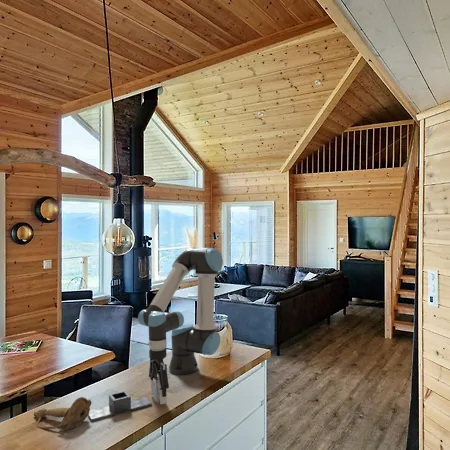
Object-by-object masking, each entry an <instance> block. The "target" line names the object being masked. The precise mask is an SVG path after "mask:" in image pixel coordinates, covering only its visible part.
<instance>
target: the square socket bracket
mask: <svg viewBox="0 0 450 450" xmlns="http://www.w3.org/2000/svg"><path fill="white" fill-rule="evenodd" d="M152 406H153V404H152V402H151V401H150V400H149V399H148V398H147V396H142V397H139V398H136V399H135V398H134V399H132V396H131V395H130V394H129V392H127V390H121V391H118V392H117V391H116V392H113V393H110V394H108V405H107V406H103V407H99V408H98V407H97V408H95V409H90V411H89V414H88V416H87V417H88V418H89V420H90V422H92V423H93V422H95V421H99V420H103V419H107V418H110V417H114V416H116V415H120V414H124V413H128V412H133V411H137V410H141V409H145V408H149V407H152Z"/></svg>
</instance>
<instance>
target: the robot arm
mask: <svg viewBox="0 0 450 450" xmlns="http://www.w3.org/2000/svg"><path fill="white" fill-rule="evenodd" d="M223 260H224V259H223V256H222V253H221V252H220V250H218V249H217V248H215V247H214V248H213V247H190V248H188V249H185V250H184V251H183V252H181V253H180V254H179V256H177V257H176V259H175V260H174V262H173V264H172V265H171V267H172V268H171V270H170V272H169V274H167V276H166V278H165V279H164V281H163V284H162V285H161V286H160V287H159V289H158V291H157V293H156V295H155V296H154V297H153V299H152V301H151V303H150V304H149V306H148V308H147V309H142V310H141V311H140V312H139V313H138V316H137V321H138V323H139V325H141V326H144V327H148V342H147V344H148V349H149V350H148V357H149V373H148V377H149V379H150V393H151V394H150V395H151V396H153V378H154V377H158V376H159V381H160V386H161V388H160V402H159V404H160V405H165V404H167V403H168V400H167V399H168V397H167V394H168V393H167V389H169V388H170V386H169V378H168V377H169V376H168V371H169V372H170V373H171V374H174V375H189V374H193V373H195V372H197V371H198V369H199V367H198V362H197V359H196V356H195V354H199V355H204V356H212V355H214V354H215V353H216V352H217V351H218V349H219V347H220V343H221V335H220V334H219V332H218V331H217V327H216V326H215V324H214V311H215V307H214V306H215V283H216V282H215V278H216V277H217V276H218V275H219V271H221V270H222V267H223V264H224V263H223V262H224V261H223ZM191 271H194V273H195V275H196V276H197V278H198V279H197V297H196V298H197V300H196V301H197V302H196V303H197V305H196V306H197V307H196V324H194V325H193V324H184V323H185V318H184V315H183V313H181V312H180V311H173V312H166V309H167V307H168V305H169V304H170V302H171V301H172V299H173V297H174V295H175V294H176V292H177V290H178V288H179V286H180V285H181V283H182V281H183V280H184V279H185V277H186V276H187V275H189V274H190V272H191ZM168 332H171V358H170V362H169V365H167V363H166V364H165V362H164V359H165V358H167V333H168ZM167 366H168V367H167ZM167 369H168V370H167Z"/></svg>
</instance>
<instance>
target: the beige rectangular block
mask: <svg viewBox="0 0 450 450" xmlns="http://www.w3.org/2000/svg"><path fill="white" fill-rule="evenodd" d="M160 388H161V386H160V381H159V376H158V375H157V377H154V378H153V395H152V397H153V402H155V403H156V404H158V403H159V404H160Z"/></svg>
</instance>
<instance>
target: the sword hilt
mask: <svg viewBox="0 0 450 450" xmlns="http://www.w3.org/2000/svg"><path fill="white" fill-rule="evenodd" d="M91 405H92V400H91V399H90V400H89V399H87V398H86V397H83V396H81V397H78V398H76V399H75V400H74V401H73V402H72V404H71V406H70V407H58V408H51V409H46V408H41V409H39V410H37V411H34V412H33V416H34V417H36V420H37V422H36V427H38V428H41V429H44V430H56V429H58V428H60V431H66V430H71V429H75V428H76V427H78V426H80V425H81V424H82V423H84V421H85V420H86V419H87V418H88V417H89V416H88V414H89V411H90V410H91V408H90V407H91ZM47 416H48V417H49V416H50V417H54V418H62V421H61V422H60V423H59V424H58V425H56V426H51V425H50V426H49V425H48V426H47V425H39V423H40V421H41V420H42V419H44V418H46V417H47Z"/></svg>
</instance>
